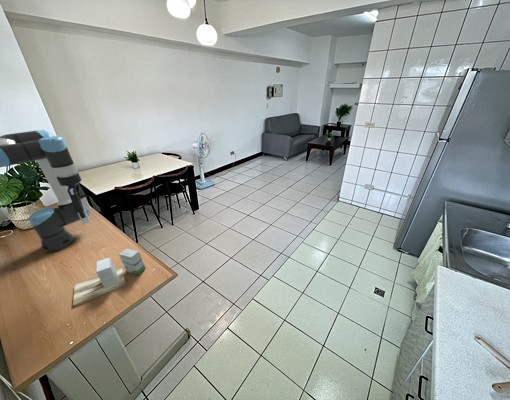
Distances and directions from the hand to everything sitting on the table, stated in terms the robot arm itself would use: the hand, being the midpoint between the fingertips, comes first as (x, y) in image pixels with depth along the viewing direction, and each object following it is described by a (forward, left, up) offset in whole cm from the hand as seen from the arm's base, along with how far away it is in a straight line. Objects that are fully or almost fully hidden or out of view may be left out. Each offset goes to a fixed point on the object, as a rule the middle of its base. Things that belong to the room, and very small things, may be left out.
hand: (87, 216), depth 101 cm
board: (+15, -4, -30) cm, 34 cm away
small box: (+16, 0, -29) cm, 33 cm away
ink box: (+14, +11, -30) cm, 35 cm away
